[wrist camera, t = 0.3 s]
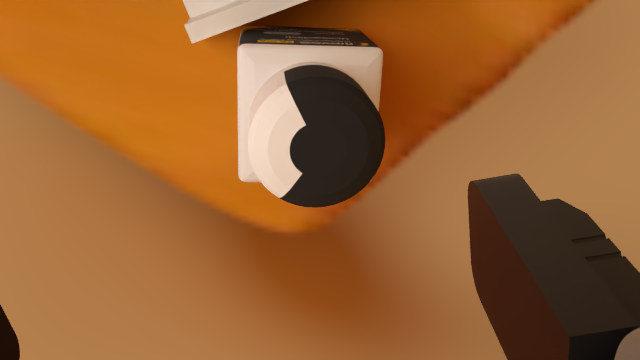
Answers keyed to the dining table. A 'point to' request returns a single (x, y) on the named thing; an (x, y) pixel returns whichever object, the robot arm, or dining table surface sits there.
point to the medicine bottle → (309, 112)
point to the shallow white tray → (228, 14)
